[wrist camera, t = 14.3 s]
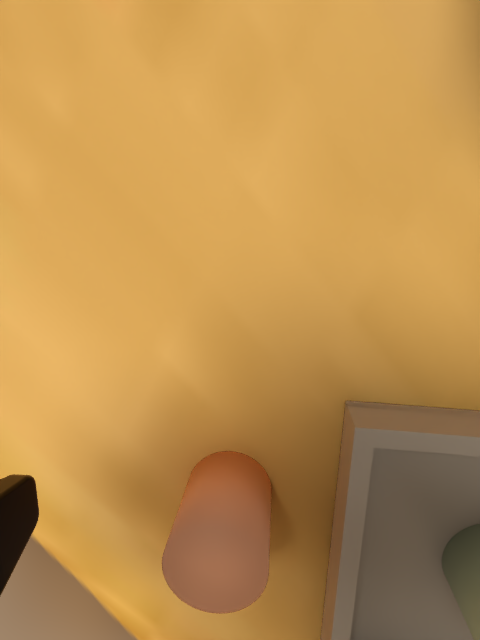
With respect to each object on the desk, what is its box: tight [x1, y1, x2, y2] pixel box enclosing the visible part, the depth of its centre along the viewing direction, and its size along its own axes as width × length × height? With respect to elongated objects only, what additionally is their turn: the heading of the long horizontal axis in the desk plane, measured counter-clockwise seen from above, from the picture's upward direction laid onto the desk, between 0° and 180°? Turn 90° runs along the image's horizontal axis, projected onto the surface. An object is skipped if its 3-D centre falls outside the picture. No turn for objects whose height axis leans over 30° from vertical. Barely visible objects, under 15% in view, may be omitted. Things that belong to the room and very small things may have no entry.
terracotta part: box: [162, 451, 271, 613], centre depth 19 cm, size 4×4×5 cm
